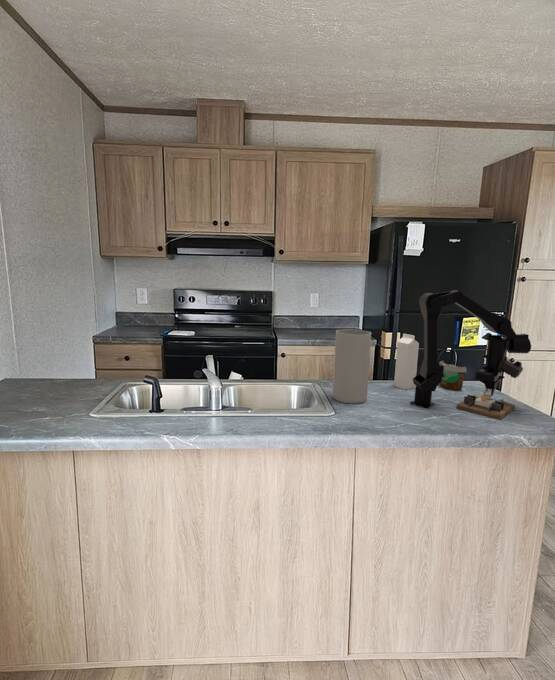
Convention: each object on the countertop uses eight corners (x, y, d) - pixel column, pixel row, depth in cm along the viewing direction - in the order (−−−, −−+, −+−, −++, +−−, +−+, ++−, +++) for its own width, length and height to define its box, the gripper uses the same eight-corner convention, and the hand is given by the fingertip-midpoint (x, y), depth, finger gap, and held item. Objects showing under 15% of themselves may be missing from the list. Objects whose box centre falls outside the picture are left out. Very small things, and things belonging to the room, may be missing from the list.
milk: (404, 390, 159) (409, 336, 155) (393, 386, 164) (397, 333, 160) (415, 388, 162) (420, 335, 158) (404, 384, 167) (408, 332, 163)
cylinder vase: (373, 399, 146) (378, 332, 142) (352, 406, 138) (357, 336, 133) (346, 391, 155) (350, 328, 151) (325, 397, 147) (328, 331, 143)
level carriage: (489, 408, 134) (491, 392, 133) (474, 404, 138) (476, 388, 137) (494, 404, 138) (496, 389, 137) (479, 401, 141) (481, 386, 140)
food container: (429, 384, 168) (431, 361, 166) (440, 383, 170) (442, 360, 169) (453, 392, 157) (456, 368, 155) (464, 391, 159) (467, 367, 158)
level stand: (499, 419, 129) (501, 408, 128) (456, 408, 139) (457, 397, 138) (514, 408, 140) (516, 397, 139) (473, 399, 150) (474, 388, 149)
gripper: (513, 360, 126) (507, 407, 129) (529, 353, 139) (523, 395, 142) (476, 354, 134) (471, 398, 137) (495, 348, 147) (490, 388, 150)
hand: (490, 395), depth 141 cm, fingers closed
